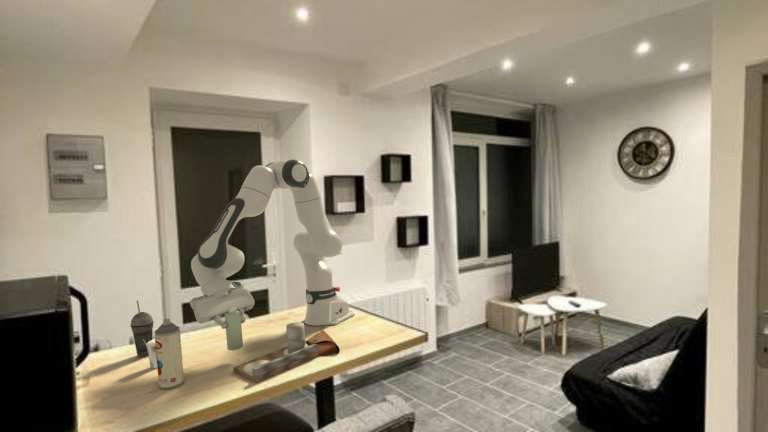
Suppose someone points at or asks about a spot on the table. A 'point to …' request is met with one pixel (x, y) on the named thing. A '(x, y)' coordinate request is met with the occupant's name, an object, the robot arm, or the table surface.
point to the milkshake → (152, 353)
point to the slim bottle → (233, 329)
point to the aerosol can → (169, 356)
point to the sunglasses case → (323, 344)
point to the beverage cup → (142, 331)
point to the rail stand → (280, 356)
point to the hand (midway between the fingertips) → (234, 324)
